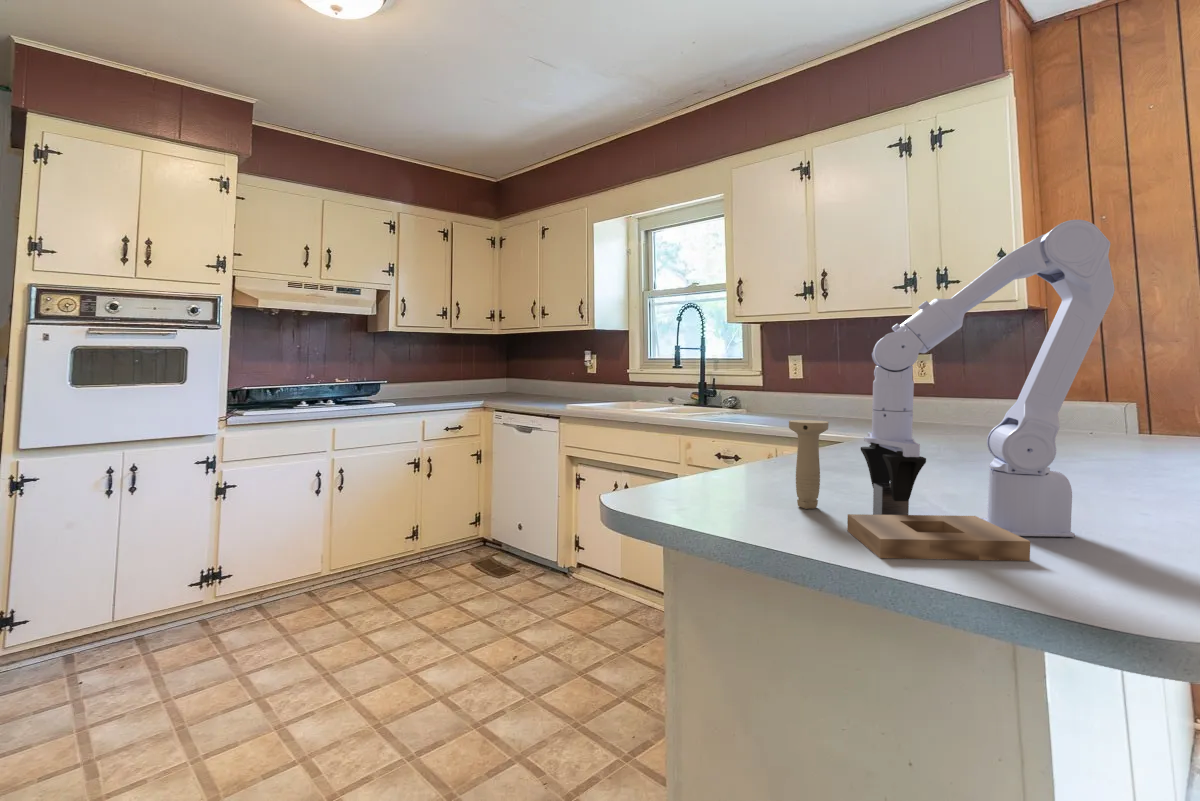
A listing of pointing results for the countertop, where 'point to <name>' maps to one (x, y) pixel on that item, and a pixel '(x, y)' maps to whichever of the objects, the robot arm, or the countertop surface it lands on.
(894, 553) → the well board
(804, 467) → the handle
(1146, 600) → the countertop surface
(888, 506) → the grey stone block
